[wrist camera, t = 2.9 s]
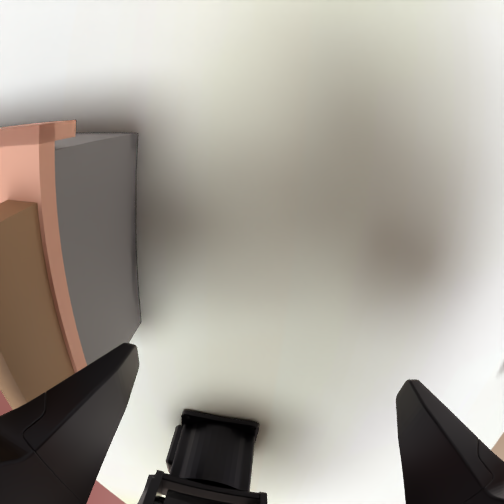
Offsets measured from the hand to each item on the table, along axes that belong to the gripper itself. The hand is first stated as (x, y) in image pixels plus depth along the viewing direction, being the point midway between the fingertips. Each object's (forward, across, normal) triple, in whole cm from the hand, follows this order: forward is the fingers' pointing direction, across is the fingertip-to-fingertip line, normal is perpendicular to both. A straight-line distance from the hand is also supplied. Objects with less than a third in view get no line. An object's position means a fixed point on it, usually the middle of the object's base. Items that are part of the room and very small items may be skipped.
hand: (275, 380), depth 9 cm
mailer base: (+8, +16, 0) cm, 18 cm away
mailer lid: (+3, +16, 0) cm, 16 cm away
